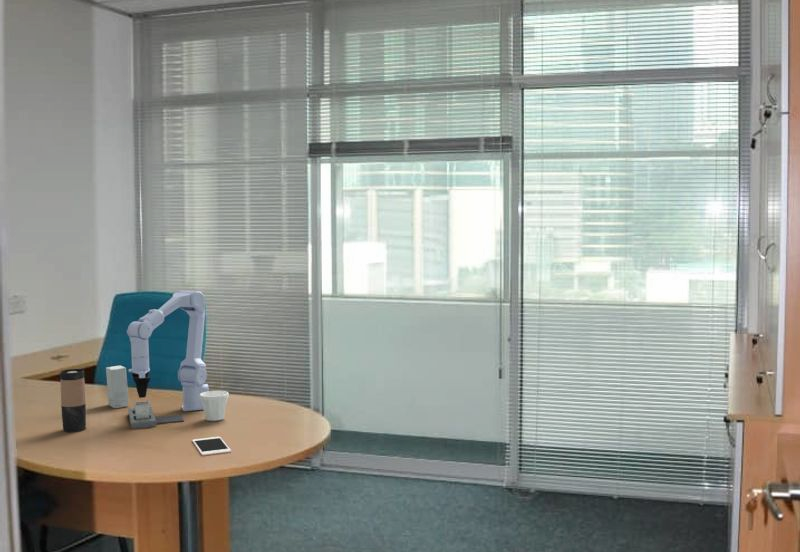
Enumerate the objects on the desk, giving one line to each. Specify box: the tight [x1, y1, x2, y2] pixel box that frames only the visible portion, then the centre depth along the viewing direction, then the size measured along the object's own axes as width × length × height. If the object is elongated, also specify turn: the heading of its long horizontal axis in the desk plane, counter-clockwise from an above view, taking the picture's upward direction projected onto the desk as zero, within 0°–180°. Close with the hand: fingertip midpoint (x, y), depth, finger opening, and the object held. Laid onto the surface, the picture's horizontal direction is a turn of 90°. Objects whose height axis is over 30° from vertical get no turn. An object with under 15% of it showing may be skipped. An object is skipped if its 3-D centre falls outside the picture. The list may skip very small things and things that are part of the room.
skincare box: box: [105, 365, 130, 409], centre depth 313 cm, size 8×6×15 cm
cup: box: [200, 390, 230, 422], centre depth 290 cm, size 10×10×9 cm
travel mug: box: [59, 368, 87, 433], centre depth 278 cm, size 8×8×20 cm
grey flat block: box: [127, 406, 157, 430], centre depth 290 cm, size 8×22×2 cm, turn 21°
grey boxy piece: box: [133, 400, 151, 420], centre depth 287 cm, size 5×5×7 cm
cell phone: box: [191, 436, 232, 457], centre depth 257 cm, size 9×18×1 cm, turn 24°
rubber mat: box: [155, 414, 184, 425], centre depth 291 cm, size 9×9×1 cm
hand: (141, 395), depth 286 cm, fingers open, 7 cm apart
